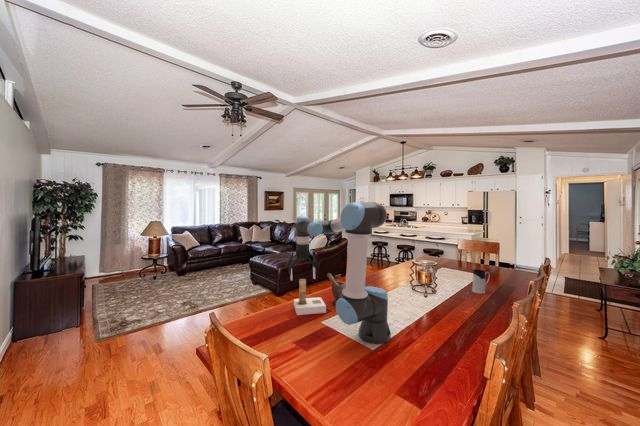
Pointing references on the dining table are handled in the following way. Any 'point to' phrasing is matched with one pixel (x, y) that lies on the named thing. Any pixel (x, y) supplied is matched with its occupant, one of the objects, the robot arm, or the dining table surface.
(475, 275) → the grey mug
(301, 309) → the board
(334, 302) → the mortar and pestle
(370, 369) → the dining table surface
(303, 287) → the leg peg
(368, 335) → the robot arm
